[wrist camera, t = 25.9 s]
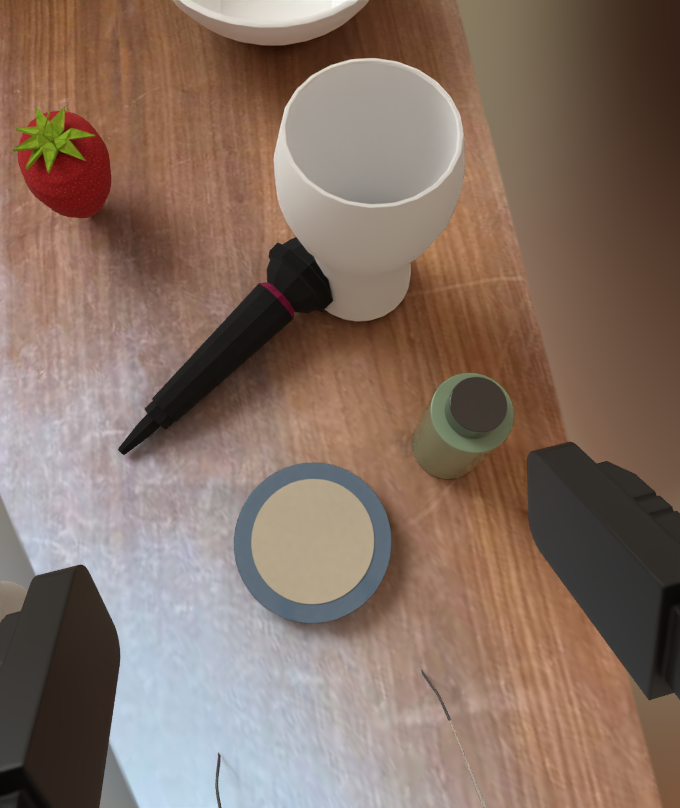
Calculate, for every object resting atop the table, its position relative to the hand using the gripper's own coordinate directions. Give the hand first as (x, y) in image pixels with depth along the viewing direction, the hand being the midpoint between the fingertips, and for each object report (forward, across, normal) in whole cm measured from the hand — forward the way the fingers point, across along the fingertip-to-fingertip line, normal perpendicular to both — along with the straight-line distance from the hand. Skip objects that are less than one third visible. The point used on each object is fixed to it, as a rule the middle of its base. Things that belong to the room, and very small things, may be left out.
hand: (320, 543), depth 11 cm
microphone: (+34, +3, +9) cm, 35 cm away
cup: (+36, -8, +7) cm, 37 cm away
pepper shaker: (+26, -10, +17) cm, 33 cm away
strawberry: (+44, +10, -1) cm, 45 cm away
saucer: (+23, 0, +20) cm, 31 cm away
